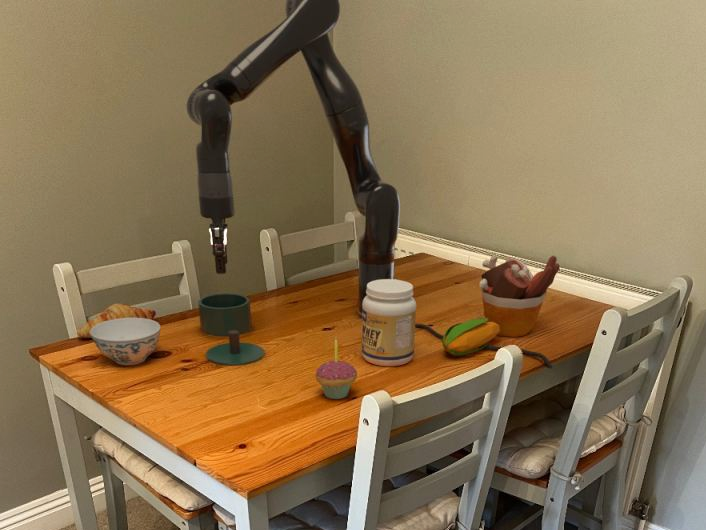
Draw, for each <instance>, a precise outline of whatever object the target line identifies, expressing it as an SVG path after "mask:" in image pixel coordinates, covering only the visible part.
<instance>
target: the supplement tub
mask: <svg viewBox="0 0 706 530" xmlns="http://www.w3.org/2000/svg"><path fill="white" fill-rule="evenodd" d="M366 294H367V296H366V297H365V298H364V300H363V304H362V317H361V355H362V357H363V358H364V360H365V361H366V362H368V363H370V364H373V365H376V366H380V367H397V366H403V365H405V364H408V363H409V362H410V361H411V360H412V359H413V358H414V354H415V340H416V339H415V337H416V327H415V324H416V321H417V320H416V319H417V303H416V300H415V298H414V297H413V295H414V285H413V284H412V283H410V282H408V281H406V280H401V279H397V280H394V279H381V280H375V281H372V282H369V283H368V284H367V290H366Z"/></svg>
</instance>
